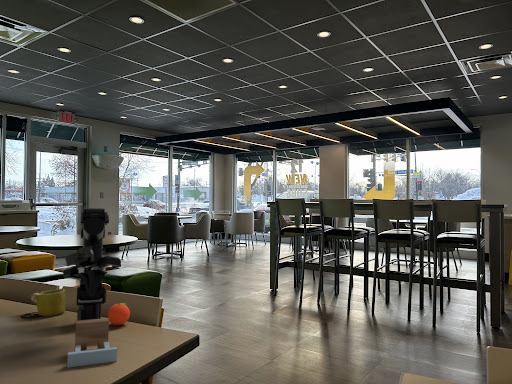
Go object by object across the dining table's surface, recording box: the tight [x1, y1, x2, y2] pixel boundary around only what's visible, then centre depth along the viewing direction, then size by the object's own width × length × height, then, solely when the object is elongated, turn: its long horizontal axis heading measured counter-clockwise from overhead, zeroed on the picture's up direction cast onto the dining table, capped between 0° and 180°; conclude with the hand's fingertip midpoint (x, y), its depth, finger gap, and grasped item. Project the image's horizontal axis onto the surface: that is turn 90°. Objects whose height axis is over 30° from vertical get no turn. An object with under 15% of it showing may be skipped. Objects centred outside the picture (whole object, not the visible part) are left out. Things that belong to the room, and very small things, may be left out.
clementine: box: [107, 302, 132, 326], centre depth 128 cm, size 8×7×7 cm
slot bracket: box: [66, 341, 118, 368], centre depth 97 cm, size 6×11×3 cm, turn 114°
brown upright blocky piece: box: [74, 317, 110, 351], centre depth 100 cm, size 9×8×8 cm
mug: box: [30, 288, 66, 317], centre depth 141 cm, size 12×10×10 cm
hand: (91, 296), depth 116 cm, fingers closed
